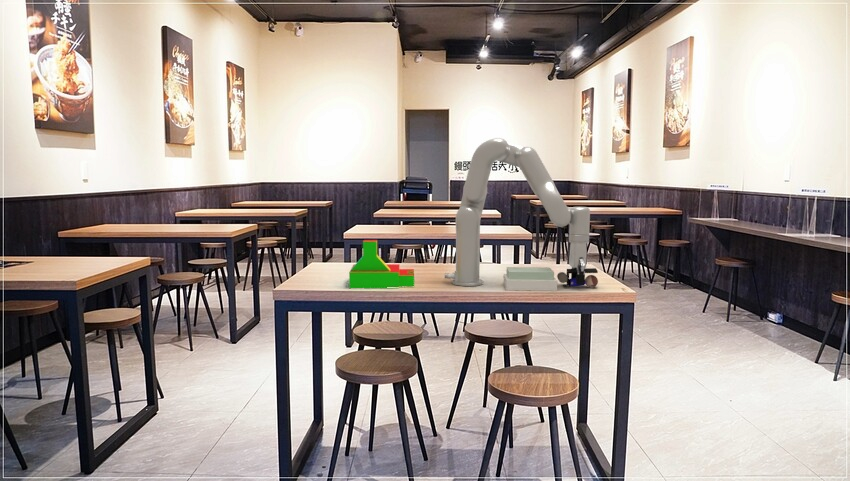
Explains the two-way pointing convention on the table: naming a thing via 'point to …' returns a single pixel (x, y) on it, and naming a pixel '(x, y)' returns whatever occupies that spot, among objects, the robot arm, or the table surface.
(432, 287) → the table surface
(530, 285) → the pale green stepped box
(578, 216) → the robot arm
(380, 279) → the building blocks toy
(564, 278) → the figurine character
